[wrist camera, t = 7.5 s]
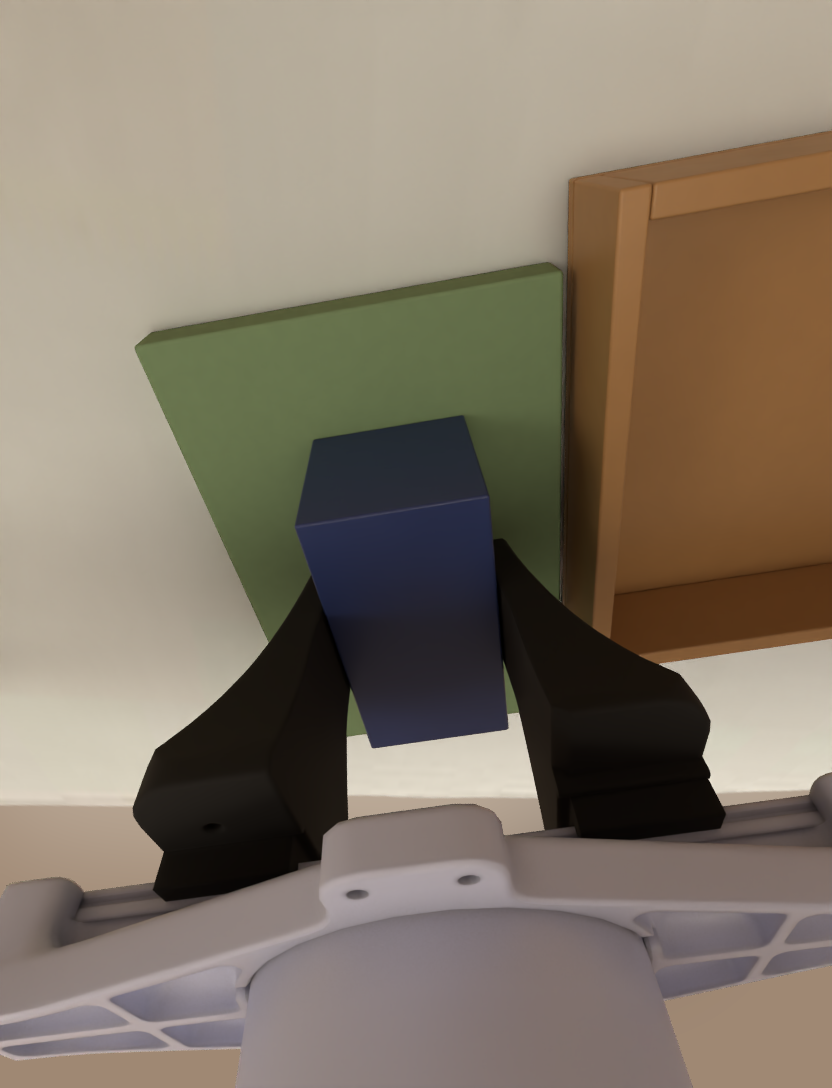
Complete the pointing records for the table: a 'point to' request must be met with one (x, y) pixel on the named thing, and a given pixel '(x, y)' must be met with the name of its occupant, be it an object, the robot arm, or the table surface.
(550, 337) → the flat green rectangular board
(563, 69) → the table surface
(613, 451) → the open box
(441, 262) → the table surface
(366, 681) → the navy blue rectangular prism
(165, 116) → the table surface
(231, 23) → the table surface
